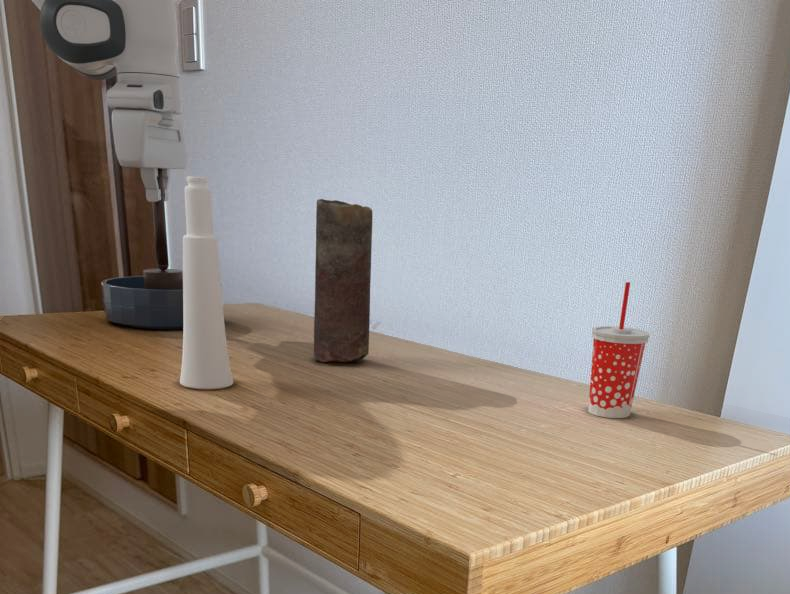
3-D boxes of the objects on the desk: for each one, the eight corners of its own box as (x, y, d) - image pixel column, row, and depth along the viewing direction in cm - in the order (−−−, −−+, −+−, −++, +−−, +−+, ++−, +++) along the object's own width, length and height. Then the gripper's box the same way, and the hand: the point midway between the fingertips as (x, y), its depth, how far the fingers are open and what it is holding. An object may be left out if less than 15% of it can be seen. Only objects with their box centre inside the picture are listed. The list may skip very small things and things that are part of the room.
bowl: (85, 326, 126) (81, 285, 124) (131, 309, 143) (128, 273, 140) (203, 334, 125) (201, 293, 123) (235, 316, 142) (234, 279, 139)
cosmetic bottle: (191, 391, 92) (179, 176, 84) (172, 380, 97) (159, 174, 88) (241, 387, 95) (235, 178, 87) (221, 376, 100) (213, 177, 91)
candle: (335, 352, 117) (338, 199, 109) (379, 360, 113) (385, 202, 105) (302, 360, 111) (302, 198, 103) (347, 369, 107) (351, 201, 99)
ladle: (139, 291, 129) (128, 159, 122) (152, 287, 135) (143, 160, 127) (176, 293, 129) (168, 160, 121) (189, 289, 134) (181, 161, 127)
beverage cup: (602, 403, 97) (620, 278, 91) (647, 414, 93) (669, 284, 87) (569, 410, 93) (586, 280, 87) (616, 423, 89) (636, 287, 83)
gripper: (154, 104, 131) (161, 199, 136) (100, 91, 112) (110, 201, 118) (193, 106, 130) (198, 201, 136) (146, 93, 112) (154, 204, 117)
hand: (157, 201), depth 127 cm, fingers closed on ladle
